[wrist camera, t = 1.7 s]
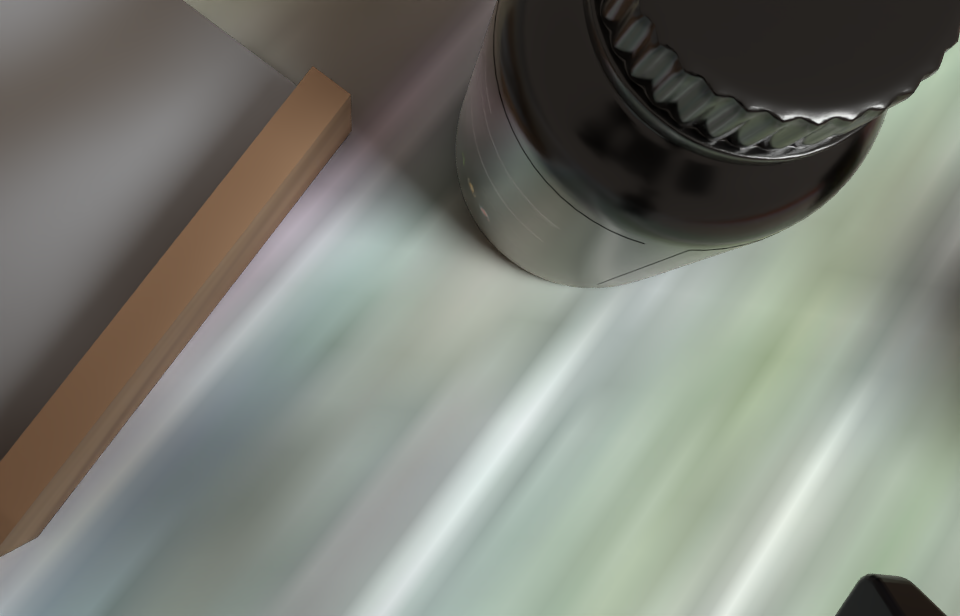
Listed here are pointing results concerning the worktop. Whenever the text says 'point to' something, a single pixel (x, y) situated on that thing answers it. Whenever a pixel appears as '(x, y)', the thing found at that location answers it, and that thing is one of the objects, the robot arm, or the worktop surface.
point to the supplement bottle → (677, 122)
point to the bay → (127, 215)
